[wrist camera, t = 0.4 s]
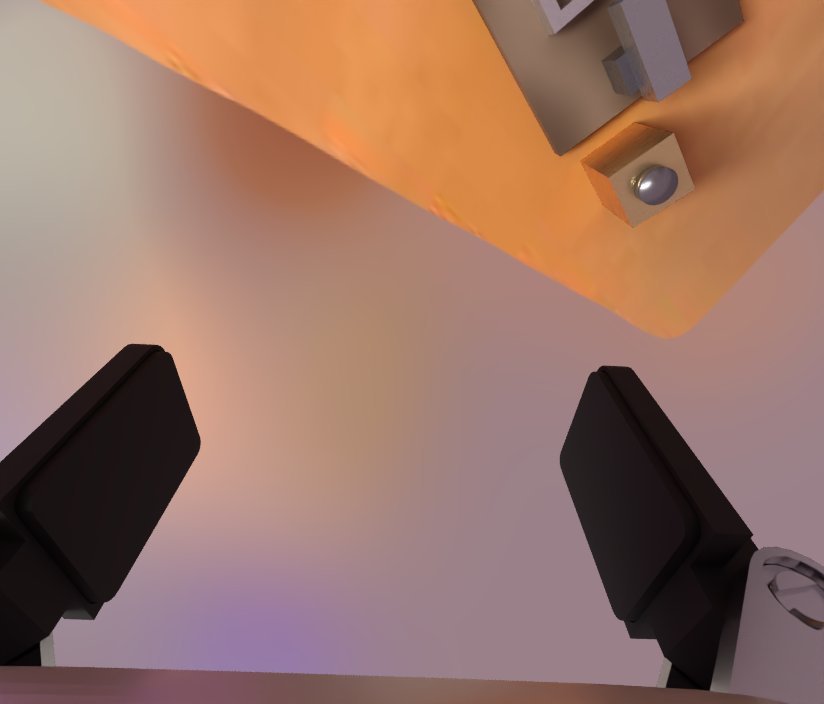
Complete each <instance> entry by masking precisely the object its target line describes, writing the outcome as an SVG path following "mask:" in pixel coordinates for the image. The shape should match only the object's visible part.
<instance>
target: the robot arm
mask: <svg viewBox="0 0 824 704" xmlns="http://www.w3.org/2000/svg"><path fill="white" fill-rule="evenodd" d="M200 442H201V441H200V436H199V433H198V430H197V427H196V424H195V421H194V418H193V416H192V413H191V410H190V407H189V404H188V401H187V398H186V395H185V392H184V390H183V387H182V384H181V381H180V378H179V375H178V372H177V369H176V366H175V364H174V360H173V358H172V356H171V354H170V353H168V352H165V351H164V349H163V348H162V347H161V346H159V345H147V344H146V345H145V344H129V345H127V346H126V347H124V348H123V349H122V350H121V351H120V352H119V353H118V354H117V355H115V357H113V358H112V359H111V360H110V361H109V362H108V363H107V364H106V365H105V366H104V367H103V368H101V369H100V370H99V371H98V372H97V373H96V374H95V375H94V376H93V377H92V378H91V379H90V380H89V381H87V382H86V383H85V384H84V385H83V386H82V387H81V388H80V389H79V390H78V391H77V392H75V393H74V394H73V395H72V396H71V397H70V398H69V399H68V400H67V401H66V402H65V403H64V404H63V405H61V406H60V408H58V409H57V410H56V411H55V412H54V413H53V414H52V415H51V416H50V417H49V418H47V419H46V420H45V421H44V422H43V423H42V424H41V425H40V426H39V427H38V428H37V429H36V430H35V431H33V432H32V433H31V434H30V435H29V436H28V437H27V438H26V439H25V440H24V441H23V442H22V443H21V444H19V445H18V446H17V447H16V448H15V449H14V450H13V451H12V452H11V453H10V454H9V455H7V456H6V457H5V458H4V460H2V461H1V462H0V704H824V567H823V566H821V565H820V564H818V563H817V562H815V561H814V560H812V559H810V558H808V557H806V556H804V555H801V554H799V553H797V552H794V551H792V550H788V549H784V548H779V547H763V548H761V549H760V550H759V549H758V548H757V547H756V545H755V544H754V542H753V541H752V540H751V537H752V536H753V534H752V532H751V531H750V529H749V528H748V527H747V525H746V524H745V523H744V521H743V520H742V519H741V517H740V516H739V514H738V513H737V512H736V510H735V509H734V508H733V506H732V505H731V504H730V502H729V501H728V499H727V498H726V497H725V495H724V494H723V493H722V491H721V490H720V488H719V487H718V486H717V484H716V483H715V482H714V480H713V479H712V478H711V476H710V475H709V473H708V472H707V471H706V469H705V468H704V467H703V465H702V464H701V462H700V461H699V460H698V459H697V457H696V456H695V454H694V453H693V452H692V450H691V449H690V447H689V446H688V445H687V443H686V442H685V441H684V439H683V438H682V436H681V435H680V434H679V432H678V431H677V430H676V428H675V427H674V426H673V424H672V423H671V421H670V420H669V419H668V417H667V416H666V415H665V413H664V412H663V411H662V409H661V408H660V406H659V405H658V404H657V402H656V401H655V400H654V398H653V397H652V396H651V394H650V393H649V391H648V390H647V389H646V387H645V386H644V385H643V383H642V382H641V380H640V379H639V378H638V376H637V375H636V374H635V372H634V371H633V370H632V369H631V368H629V367H622V366H621V367H620V366H601V367H600V368H599V369H598V371H597V372H592V373H591V374H590V376H589V378H588V381H587V383H586V386H585V388H584V391H583V394H582V397H581V399H580V402H579V405H578V407H577V410H576V413H575V416H574V418H573V421H572V424H571V426H570V429H569V432H568V434H567V437H566V440H565V443H564V445H563V448H562V451H561V454H560V466H561V469H562V472H563V475H564V478H565V481H566V484H567V486H568V489H569V492H570V495H571V497H572V500H573V503H574V506H575V508H576V511H577V514H578V517H579V519H580V522H581V525H582V528H583V530H584V533H585V536H586V539H587V541H588V544H589V547H590V550H591V552H592V555H593V558H594V560H595V563H596V566H597V569H598V571H599V574H600V577H601V579H602V582H603V585H604V588H605V591H606V593H607V596H608V599H609V602H610V604H611V607H612V609H613V612H614V614H615V615H616V617H617V618H618V619H619V620H623V621H624V622H625V625H626V628H627V630H628V633H629V636H630V638H634V639H635V638H636V639H657V641H658V643H659V646H660V648H661V650H662V652H663V655H664V661H663V664H662V668H661V671H660V674H659V678H658V681H657V685H656V687H642V686H624V685H607V684H585V683H558V682H533V681H532V682H531V681H505V680H478V679H451V678H425V677H393V676H364V675H334V674H303V673H302V674H301V673H271V672H239V671H205V670H167V669H132V668H131V669H130V668H95V667H56V662H55V653H54V642H53V632H52V630H53V629H54V627H55V626H56V624H57V623H58V621H59V620H60V618H61V617H63V618H64V619H82V620H94V619H95V617H96V616H97V614H98V612H99V610H100V609H101V607H102V606H103V604H104V602H108V601H110V600H111V599H112V598H113V597H114V596H115V595H116V593H117V592H118V590H119V589H120V587H121V585H122V583H123V581H124V580H125V578H126V577H127V575H128V573H129V571H130V570H131V568H132V566H133V564H134V563H135V561H136V559H137V558H138V556H139V554H140V552H141V551H142V549H143V547H144V546H145V544H146V542H147V540H148V539H149V537H150V535H151V534H152V532H153V530H154V528H155V527H156V525H157V523H158V521H159V520H160V518H161V516H162V515H163V513H164V511H165V509H166V508H167V506H168V504H169V503H170V501H171V499H172V497H173V495H174V494H175V492H176V490H177V489H178V487H179V485H180V483H181V482H182V480H183V478H184V477H185V475H186V473H187V471H188V469H189V468H190V466H191V465H192V463H193V461H194V459H195V458H196V456H197V454H198V452H199V449H200Z"/></svg>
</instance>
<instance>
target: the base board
mask: <svg viewBox="0 0 824 704" xmlns="http://www.w3.org/2000/svg"><path fill="white" fill-rule="evenodd" d="M472 1H473V2H474V4H475V6H476V8H477V10H478V12H479V14H480V15H481V17H482V19H483V21H484V23H485V25H486V26H487V28H488V30H489V32H490V34H491V36H492V38H493V39H494V41H495V43H496V45H497V47H498V49H499V51H500V52H501V54H502V56H503V58H504V60H505V62H506V63H507V65H508V67H509V69H510V71H511V73H512V75H513V76H514V78H515V80H516V82H517V84H518V86H519V87H520V89H521V91H522V93H523V95H524V97H525V99H526V100H527V102H528V104H529V106H530V108H531V110H532V112H533V113H534V115H535V117H536V119H537V121H538V123H539V124H540V126H541V128H542V130H543V132H544V134H545V136H546V137H547V139H548V141H549V143H550V145H551V147H552V149H553V150H554V152H555V153H556V154H557V155H559V156H562V155H563V154H564V153H566V152H567V151H568V150H570V149H571V148H573V147H574V146H575V145H577V144H578V143H579V142H581V141H582V140H583V139H585V138H586V137H587V136H589V135H590V134H591V133H593V132H594V131H595V130H597V129H598V128H600V127H601V126H602V125H604V124H605V123H606V122H608V121H609V120H610V119H612V118H613V117H614V116H616V115H617V114H618V113H620V112H621V111H622V110H624V109H625V108H627V107H628V106H629V105H631V104H632V103H633V102H635V101H636V100H637V99H639V98H640V97H641V96H642V94H641V92H640V89H639V90H637V91H636V92H635V93H633V94H632V95H631V96H628V95H621V94H615V92H614V89H613V87H612V85H611V83H610V80H609V78H608V76H607V73H606V71H605V69H604V66H603V64H602V62H601V61H602V60H603V59H604V58H606V57H607V56H608V55H609V54H611V53H612V52H613V51H614V50H616V49H617V48H618V47H619V46H621V45H622V44H621V42H620V39H619V37H618V35H617V32H616V30H615V27H614V25H613V22H612V20H611V17H610V15H609V12H608V10H607V7H608V6H609V5H610V4H612V3H613V2H614V1H615V0H594V1H592V2H591V3H590V4H589V5H588V6H587V7H586V8H584V9H583V10H582V11H581V12H580V13H579V14H577V15H576V16H575V17H574V18H573V19H572V20H571V21H569V22H568V23H567V24H566V25H565V26H564V27H562V28H561V29H560V30H559V31H558V32H557V33H556V34H552V35H547V33H546V31H545V29H544V27H543V25H542V23H541V21H540V19H539V17H538V14H537V12H536V10H535V8H534V6H533V4H532V2H531V0H472ZM556 1H557V3H558V5H559V7H561V6H562V5H563V4H565V3H566V2H567V1H568V0H556ZM666 3H667V6H668V9H669V12H670V15H671V18H672V21H673V24H674V27H675V30H676V33H677V36H678V38H679V41H680V44H681V47H682V50H683V53H684V56H685V59H686V62H689V61H690V60H691V59H693V58H694V57H695V56H697V55H698V54H699V53H701V52H702V51H703V50H705V49H706V48H707V47H709V46H710V45H712V44H713V43H714V42H716V41H717V40H718V39H720V38H721V37H722V36H724V35H725V34H726V33H728V32H729V31H730V30H732V29H733V28H734V27H736V26H737V25H739V24H740V23H741V22H743V21H744V19H743V16H742V12H741V8H740V4H739V0H666Z"/></svg>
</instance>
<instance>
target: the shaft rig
mask: <svg viewBox="0 0 824 704" xmlns="http://www.w3.org/2000/svg"><path fill="white" fill-rule="evenodd" d="M592 1H594V0H568V1H567V2H566V3H565V4H563V5H562V6H561V7H559V5H558V3H557V1H556V0H531V2H532V4H533V6H534V8H535V10H536V12H537V14H538V17H539V19H540V21H541V23H542V25H543V27H544V29H545V31H546V33H547V35H552V34H556V33H557V32H558V31H559V30H560V29H561V28H562V27H564V26H565V25H566V24H567V23H568V22H569V21H571V20H572V19H573V18H574V17H575V16H576V15H577V14H579V13H580V12H581V11H582V10H583V9H584V8H586V7H587V6H588V5H589V4H590V3H591V2H592ZM607 10H608V12H609V15H610V17H611V20H612V22H613V25H614V27H615V30H616V32H617V35H618V37H619V39H620V42H621V44H622V45H621V46H619V47H618V48H617V49H616V50H614V51H613V52H612V53H611V54H609V55H608V56H607V57H606V58H604V59H603V60H602V61H601V62H602V64H603V66H604V69H605V71H606V73H607V76H608V78H609V80H610V83H611V85H612V87H613V89H614V92H615V94H621V95H628V96H631V95H632V94H633V93H635V92H636V91H637V90H639V89H640V92H641V94H642V97H643V99H644V100H645V101H652V102H660V101H661V100H663V99H664V98H665V97H667V96H668V95H670V94H671V93H672V92H674V91H675V90H676V89H678V88H679V87H681V86H682V85H683V84H685V83H686V82H687V81H689V80H690V79H692V77H691V74H690V71H689V68H688V65H687V62H686V59H685V56H684V53H683V50H682V47H681V44H680V41H679V38H678V36H677V33H676V30H675V27H674V24H673V21H672V18H671V15H670V12H669V9H668V6H667V3H666V0H615V1H614V2H613V3H612V4H610V5H609V6H608V7H607Z"/></svg>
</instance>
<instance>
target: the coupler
mask: <svg viewBox="0 0 824 704" xmlns="http://www.w3.org/2000/svg"><path fill="white" fill-rule="evenodd" d="M580 162H581V164H582V166H583V168H584V170H585V172H586V174H587V176H588V178H589V180H590V182H591V184H592V186H593V188H594V190H595V191H596V193H597V195H598V197H599V199H600V201H601V203H602V205H603V206H604V207H606V208H607V209H608V210H610V211H611V212H612V213H614V214H615V215H616V216H618V217H619V218H620V219H622V220H623V221H624V222H626V223H627V224H628V225H630V226H631V227H632V228H634V227H635V226H637V225H639V224H640V223H642V222H643V221H645V220H647V219H648V218H650V217H651V216H653V215H655V214H656V213H658V212H659V211H661V210H663V209H664V208H666V207H667V206H669V205H671V204H672V203H674V202H675V201H677V200H679V199H680V198H682V197H683V196H685V195H687V194H688V193H690V192H691V191H693V190H694V189H695V187H694V184H693V182H692V179H691V177H690V174H689V171H688V169H687V166H686V163H685V161H684V158H683V156H682V153H681V150H680V148H679V145H678V142H677V140H676V137H675V135H674V133H672V132H669V131H665V130H661V129H657V128H653V127H649V126H645V125H641V124H637V123H632V124H631V125H630V126H628V127H627V128H625V129H624V130H623V131H621V132H620V133H618V134H617V135H616V136H614V137H613V138H612V139H610V140H609V141H607V142H606V143H605V144H603V145H602V146H600V147H599V148H598V149H596V150H595V151H594V152H592V153H591V154H589V155H588V156H587V157H585V158H584V159H582V160H581V161H580Z"/></svg>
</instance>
